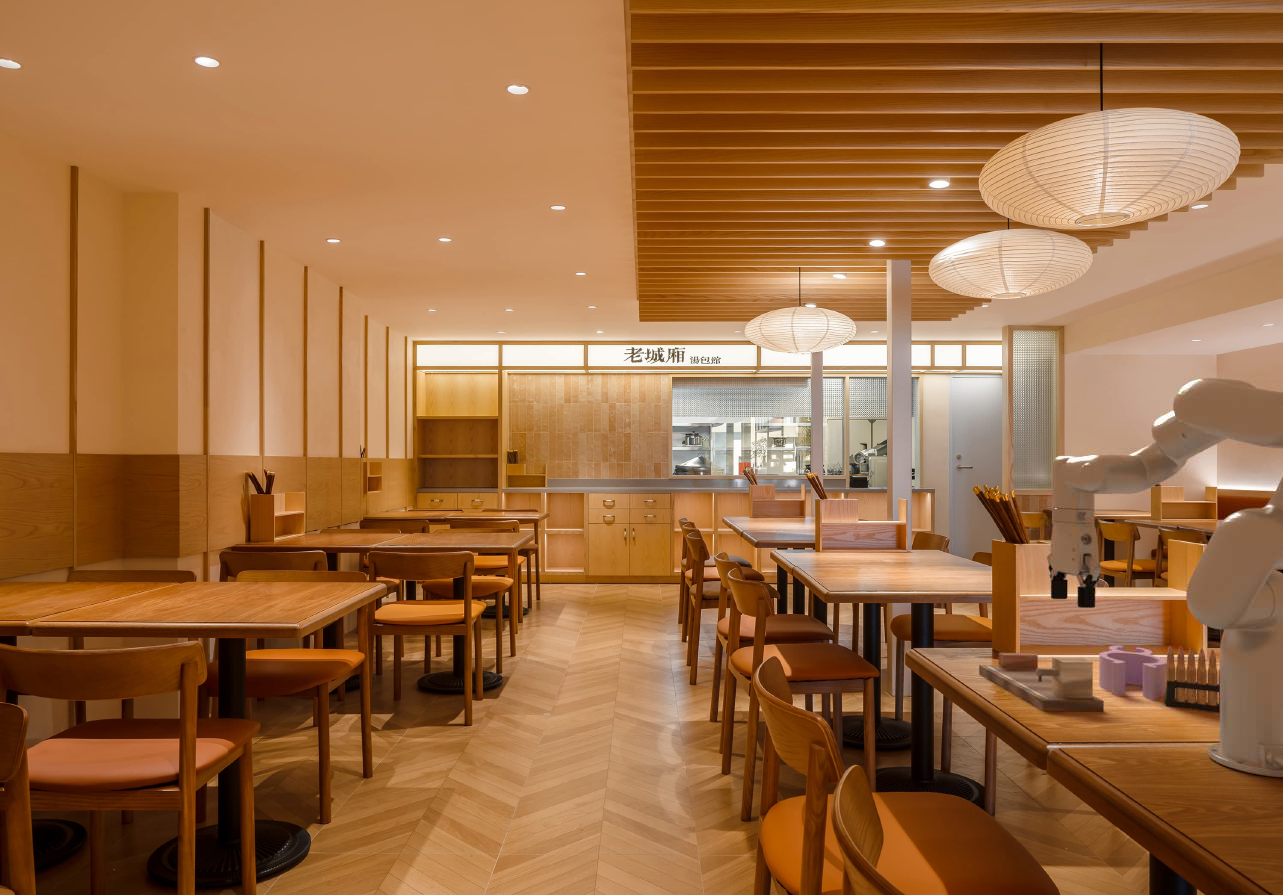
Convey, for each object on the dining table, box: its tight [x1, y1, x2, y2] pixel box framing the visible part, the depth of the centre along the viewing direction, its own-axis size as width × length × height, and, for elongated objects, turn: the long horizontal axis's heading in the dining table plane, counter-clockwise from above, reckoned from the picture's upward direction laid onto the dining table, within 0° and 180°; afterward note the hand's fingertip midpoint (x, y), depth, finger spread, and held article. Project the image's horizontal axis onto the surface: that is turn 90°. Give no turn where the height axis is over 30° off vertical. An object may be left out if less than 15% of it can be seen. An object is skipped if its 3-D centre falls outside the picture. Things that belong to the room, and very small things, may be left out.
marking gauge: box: [1036, 656, 1094, 698], centre depth 164 cm, size 4×10×7 cm, turn 92°
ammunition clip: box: [1164, 645, 1220, 714], centre depth 162 cm, size 11×2×12 cm, turn 65°
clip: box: [1098, 645, 1167, 701], centre depth 178 cm, size 20×12×7 cm, turn 152°
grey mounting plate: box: [978, 652, 1105, 712], centre depth 174 cm, size 28×12×5 cm, turn 2°
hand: (1072, 602), depth 164 cm, fingers open, 9 cm apart
